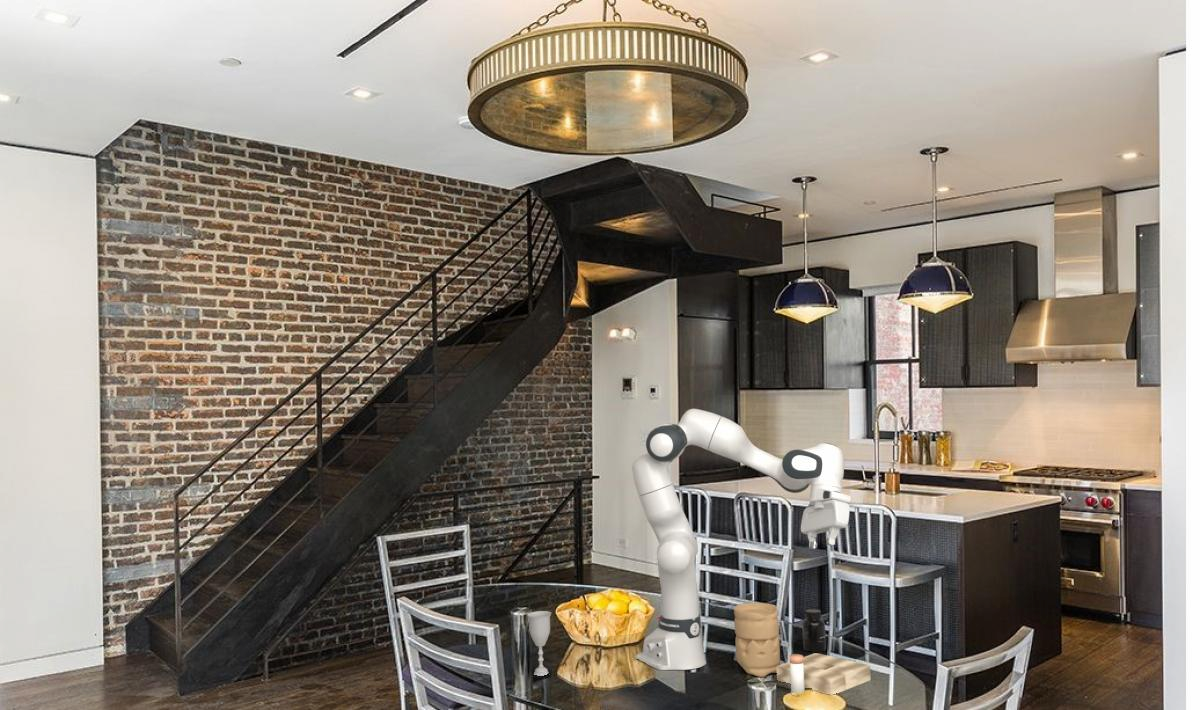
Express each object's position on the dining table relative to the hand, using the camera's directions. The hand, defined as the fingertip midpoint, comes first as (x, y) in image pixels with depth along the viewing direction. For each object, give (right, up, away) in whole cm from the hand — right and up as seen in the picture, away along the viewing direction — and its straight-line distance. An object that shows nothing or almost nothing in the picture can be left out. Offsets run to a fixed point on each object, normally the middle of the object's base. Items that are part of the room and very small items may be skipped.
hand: (821, 546), depth 254 cm
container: (-17, -37, +5) cm, 41 cm away
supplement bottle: (+4, -37, +24) cm, 45 cm away
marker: (-10, -36, -17) cm, 41 cm away
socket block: (-1, -36, -6) cm, 36 cm away
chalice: (-80, -40, +7) cm, 89 cm away
